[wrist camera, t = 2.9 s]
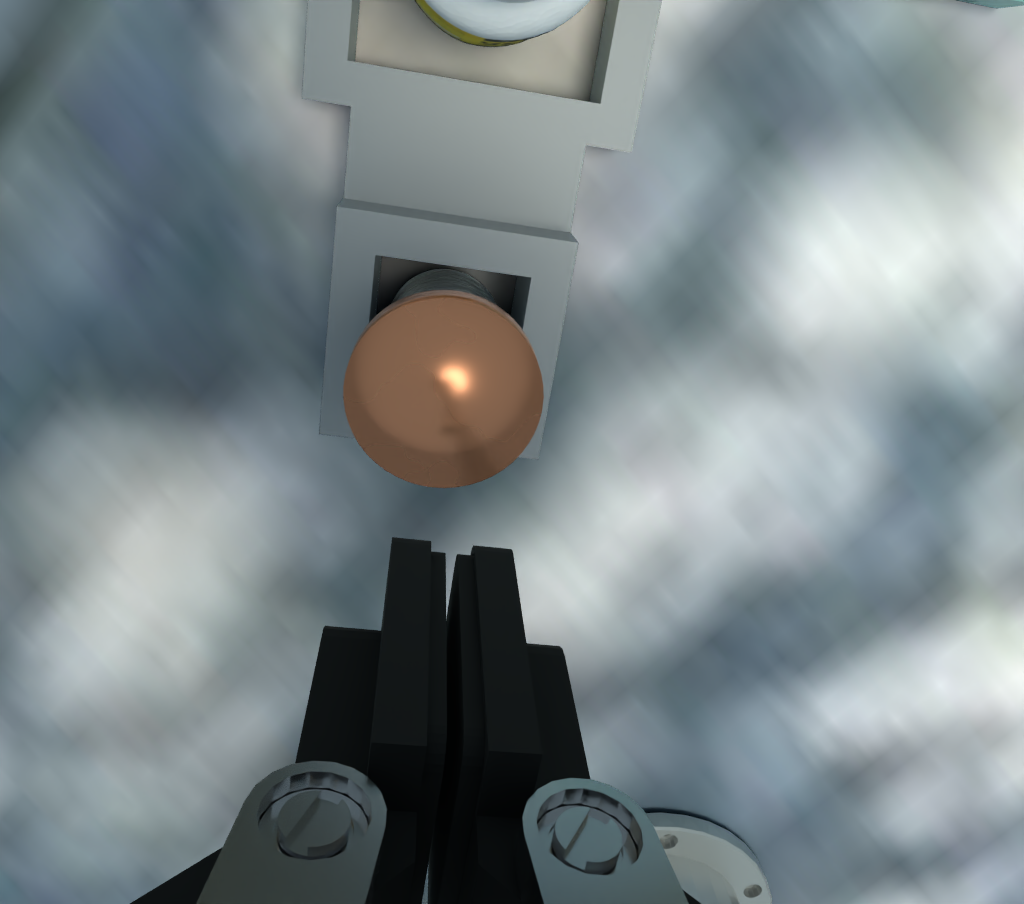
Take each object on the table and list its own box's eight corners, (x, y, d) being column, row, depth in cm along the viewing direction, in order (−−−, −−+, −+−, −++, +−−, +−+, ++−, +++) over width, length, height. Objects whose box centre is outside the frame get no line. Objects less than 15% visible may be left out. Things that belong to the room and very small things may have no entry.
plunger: (508, 405, 29) (526, 497, 23) (359, 387, 29) (335, 476, 22) (532, 258, 28) (559, 314, 21) (374, 235, 27) (352, 285, 20)
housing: (565, 420, 32) (580, 464, 28) (293, 386, 31) (273, 428, 27) (688, -216, 25) (731, -267, 21) (337, -295, 23) (317, -362, 20)
